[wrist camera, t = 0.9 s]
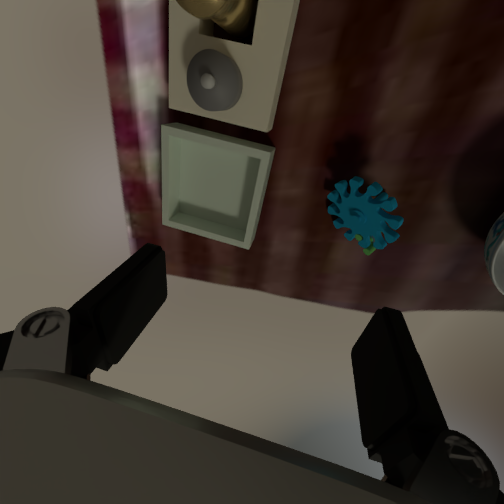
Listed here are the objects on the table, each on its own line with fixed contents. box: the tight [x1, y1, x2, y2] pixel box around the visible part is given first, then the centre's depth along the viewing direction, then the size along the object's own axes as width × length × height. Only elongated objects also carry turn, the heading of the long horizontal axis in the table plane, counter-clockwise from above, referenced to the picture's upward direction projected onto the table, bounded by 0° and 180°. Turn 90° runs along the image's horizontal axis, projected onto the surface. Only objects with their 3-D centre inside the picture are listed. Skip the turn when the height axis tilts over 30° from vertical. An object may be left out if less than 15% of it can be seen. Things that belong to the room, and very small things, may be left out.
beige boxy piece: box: [169, 0, 300, 132], centre depth 24 cm, size 14×12×8 cm
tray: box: [161, 122, 275, 249], centre depth 35 cm, size 14×14×4 cm
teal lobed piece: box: [327, 176, 403, 255], centre depth 31 cm, size 11×6×10 cm
